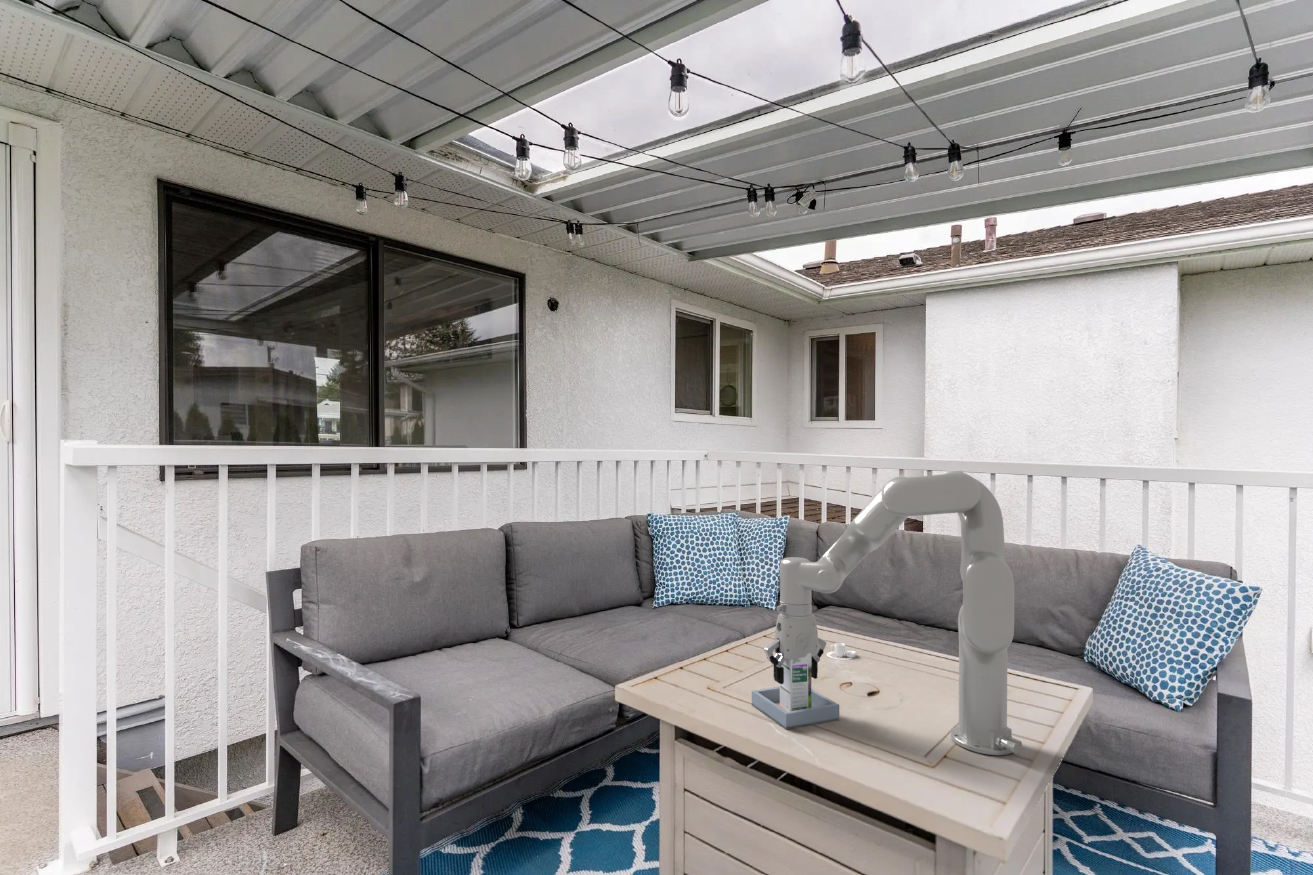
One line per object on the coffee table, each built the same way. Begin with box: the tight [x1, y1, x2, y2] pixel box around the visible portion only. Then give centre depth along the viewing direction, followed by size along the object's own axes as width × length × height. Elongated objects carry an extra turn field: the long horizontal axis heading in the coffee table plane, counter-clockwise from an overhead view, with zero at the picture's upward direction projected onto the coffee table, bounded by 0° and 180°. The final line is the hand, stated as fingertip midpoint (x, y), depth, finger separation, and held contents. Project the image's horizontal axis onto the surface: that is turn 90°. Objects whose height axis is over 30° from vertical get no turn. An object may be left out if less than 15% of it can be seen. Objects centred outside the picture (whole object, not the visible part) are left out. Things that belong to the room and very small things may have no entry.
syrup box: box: [779, 653, 812, 712], centre depth 156 cm, size 6×6×14 cm
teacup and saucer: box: [826, 642, 858, 661], centre depth 199 cm, size 9×8×4 cm
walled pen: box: [751, 686, 840, 730], centre depth 156 cm, size 15×15×4 cm
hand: (795, 679), depth 156 cm, fingers open, 9 cm apart
